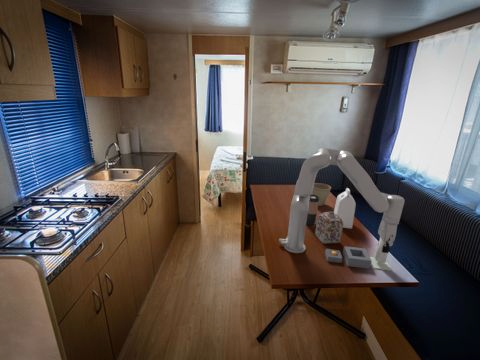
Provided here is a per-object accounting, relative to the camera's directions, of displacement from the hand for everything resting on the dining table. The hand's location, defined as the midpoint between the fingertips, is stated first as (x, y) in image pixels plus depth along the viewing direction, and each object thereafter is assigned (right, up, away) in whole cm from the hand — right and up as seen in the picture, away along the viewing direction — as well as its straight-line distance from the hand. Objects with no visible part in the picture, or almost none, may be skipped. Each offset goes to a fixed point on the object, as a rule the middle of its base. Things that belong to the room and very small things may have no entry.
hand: (383, 249), depth 139 cm
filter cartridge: (0, -7, +2) cm, 7 cm away
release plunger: (-25, -6, +6) cm, 26 cm away
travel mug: (-27, +6, +45) cm, 53 cm away
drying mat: (0, -9, +3) cm, 9 cm away
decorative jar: (-21, 0, +26) cm, 34 cm away
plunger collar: (-25, -7, +6) cm, 26 cm away
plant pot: (-11, +17, +78) cm, 81 cm away
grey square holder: (-13, -8, +5) cm, 16 cm away
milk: (-4, +6, +47) cm, 47 cm away
